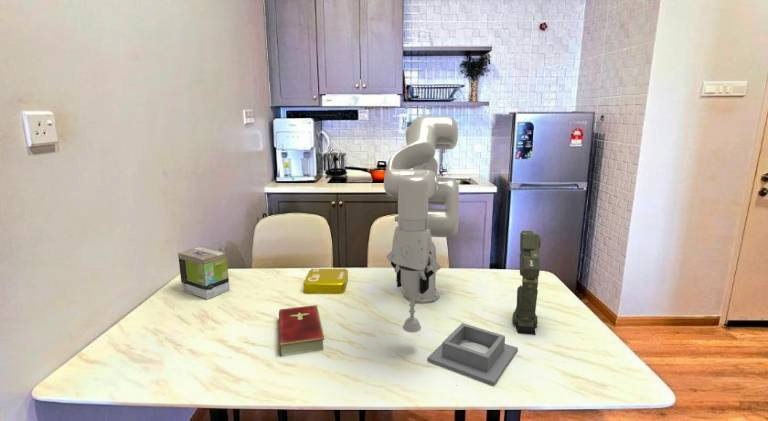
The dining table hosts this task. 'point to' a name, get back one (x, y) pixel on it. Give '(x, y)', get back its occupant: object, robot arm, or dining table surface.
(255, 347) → the dining table surface
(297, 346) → the hardcover book
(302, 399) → the dining table surface
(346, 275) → the element tile
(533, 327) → the mechanical leg
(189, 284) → the tea box
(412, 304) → the chalice
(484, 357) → the housing
